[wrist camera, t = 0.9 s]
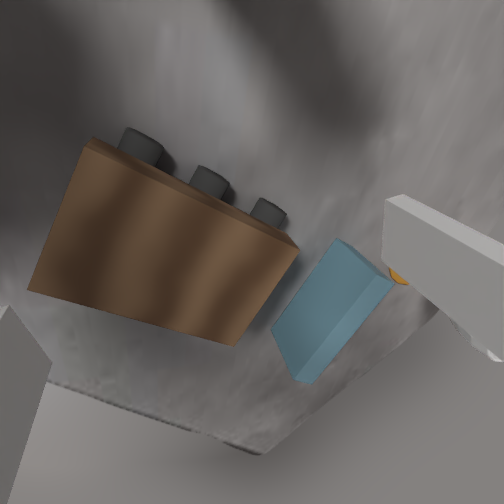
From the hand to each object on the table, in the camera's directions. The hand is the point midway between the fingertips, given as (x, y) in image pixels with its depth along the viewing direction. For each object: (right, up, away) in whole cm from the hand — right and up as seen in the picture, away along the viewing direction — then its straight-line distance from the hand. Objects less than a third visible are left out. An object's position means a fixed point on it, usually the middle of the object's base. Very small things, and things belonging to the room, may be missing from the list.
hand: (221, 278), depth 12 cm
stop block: (+9, -4, +33) cm, 34 cm away
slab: (-7, +1, +21) cm, 22 cm away
